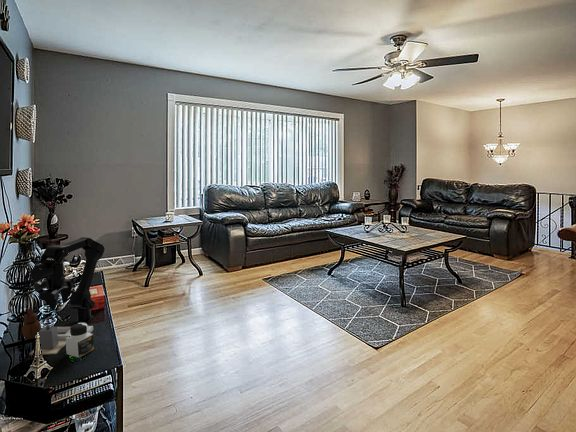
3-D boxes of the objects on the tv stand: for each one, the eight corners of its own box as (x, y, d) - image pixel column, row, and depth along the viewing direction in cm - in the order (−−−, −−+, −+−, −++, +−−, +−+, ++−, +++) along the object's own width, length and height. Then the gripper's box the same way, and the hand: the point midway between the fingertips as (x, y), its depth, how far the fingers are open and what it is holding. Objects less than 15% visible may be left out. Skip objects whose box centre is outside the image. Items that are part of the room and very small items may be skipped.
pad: (43, 342, 148) (43, 341, 148) (68, 341, 150) (68, 340, 150) (29, 355, 139) (29, 353, 139) (55, 353, 140) (55, 352, 140)
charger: (45, 344, 146) (44, 323, 144) (58, 344, 146) (56, 323, 145) (40, 349, 142) (38, 327, 140) (53, 348, 142) (51, 327, 141)
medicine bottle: (78, 358, 137) (77, 330, 136) (66, 354, 140) (64, 327, 138) (94, 349, 144) (92, 322, 142) (82, 346, 146) (80, 319, 145)
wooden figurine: (30, 342, 149) (27, 309, 146) (19, 340, 150) (16, 308, 148) (44, 334, 155) (41, 303, 153) (34, 333, 156) (31, 302, 154)
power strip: (52, 331, 159) (52, 325, 158) (93, 329, 161) (93, 324, 160) (41, 340, 150) (40, 335, 149) (84, 339, 152) (84, 333, 152)
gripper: (49, 267, 161) (51, 299, 163) (23, 280, 142) (26, 316, 145) (74, 267, 162) (76, 298, 164) (52, 280, 144) (54, 315, 146)
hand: (59, 306), depth 155 cm, fingers open, 9 cm apart
